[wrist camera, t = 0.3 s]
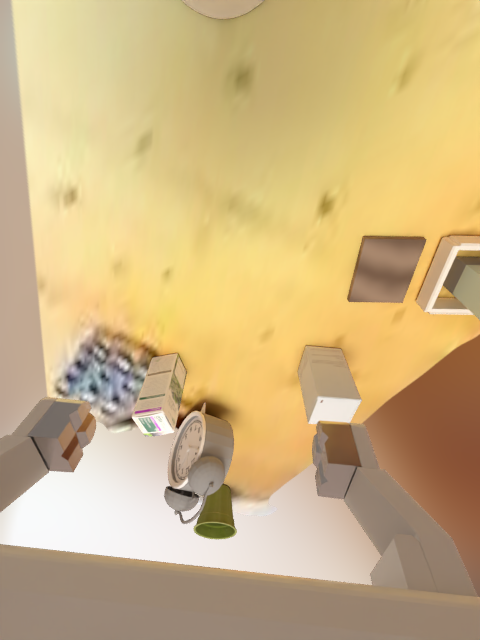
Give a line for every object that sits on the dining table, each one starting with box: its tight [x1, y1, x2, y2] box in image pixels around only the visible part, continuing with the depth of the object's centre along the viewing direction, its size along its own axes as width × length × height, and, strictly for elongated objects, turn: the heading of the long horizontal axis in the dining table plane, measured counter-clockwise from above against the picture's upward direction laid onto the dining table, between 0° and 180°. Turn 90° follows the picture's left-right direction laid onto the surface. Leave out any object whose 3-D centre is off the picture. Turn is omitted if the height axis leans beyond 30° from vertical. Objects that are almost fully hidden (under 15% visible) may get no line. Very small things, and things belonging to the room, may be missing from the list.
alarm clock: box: [164, 403, 234, 524], centre depth 63 cm, size 16×9×22 cm, turn 145°
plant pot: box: [194, 485, 237, 539], centre depth 88 cm, size 12×12×11 cm
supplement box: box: [298, 346, 362, 424], centre depth 56 cm, size 7×7×13 cm
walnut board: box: [347, 236, 426, 303], centre depth 49 cm, size 11×9×1 cm
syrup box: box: [132, 353, 187, 436], centre depth 56 cm, size 6×6×14 cm
